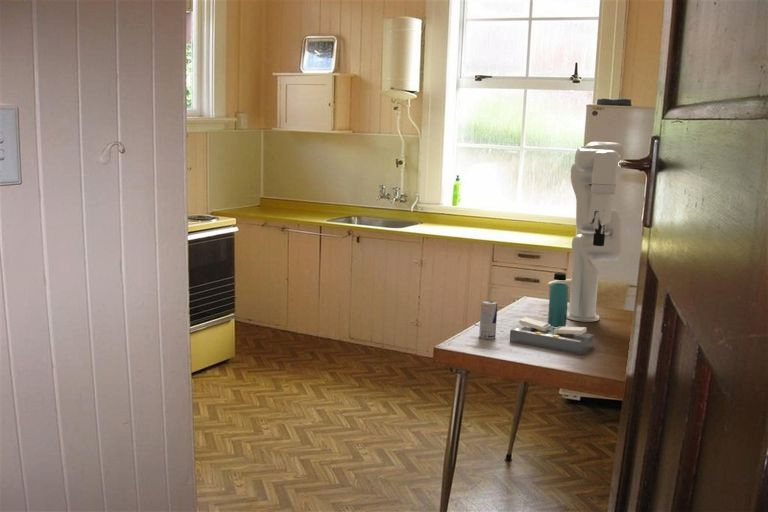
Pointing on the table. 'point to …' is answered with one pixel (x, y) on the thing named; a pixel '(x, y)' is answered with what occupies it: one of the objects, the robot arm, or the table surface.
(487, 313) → the energy drink
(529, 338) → the grey rectangular tray
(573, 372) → the table surface
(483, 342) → the table surface
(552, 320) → the beverage bottle
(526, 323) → the rocker
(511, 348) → the table surface
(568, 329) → the rocker
